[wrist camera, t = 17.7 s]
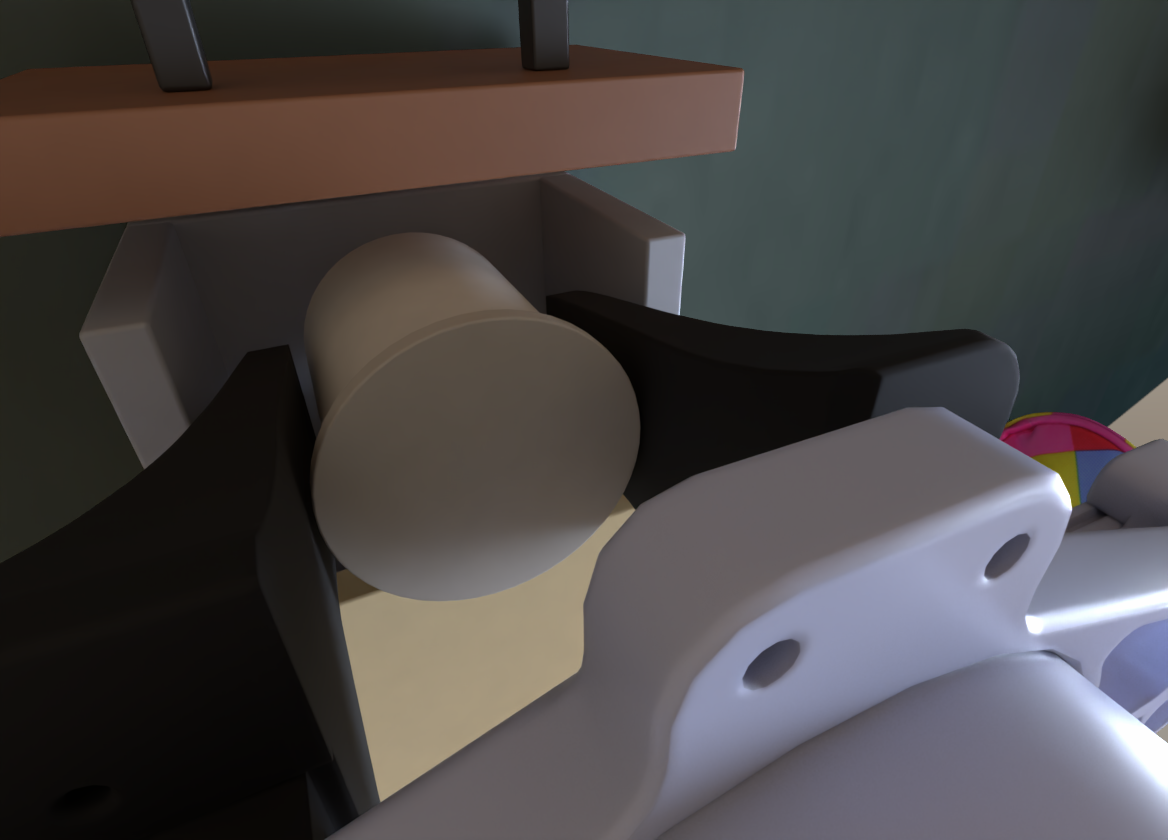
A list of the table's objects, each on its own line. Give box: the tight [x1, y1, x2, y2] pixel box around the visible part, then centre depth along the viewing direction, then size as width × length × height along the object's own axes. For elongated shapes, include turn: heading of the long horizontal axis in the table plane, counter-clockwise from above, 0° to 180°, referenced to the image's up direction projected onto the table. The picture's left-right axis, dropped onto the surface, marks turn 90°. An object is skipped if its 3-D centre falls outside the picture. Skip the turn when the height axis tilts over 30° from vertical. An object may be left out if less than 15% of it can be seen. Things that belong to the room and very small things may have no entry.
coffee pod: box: [304, 232, 641, 601], centre depth 11 cm, size 5×5×5 cm
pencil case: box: [999, 412, 1136, 508], centre depth 36 cm, size 22×9×9 cm, turn 41°
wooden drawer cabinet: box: [336, 494, 635, 802], centre depth 18 cm, size 14×12×8 cm
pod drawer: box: [0, 0, 744, 572], centre depth 13 cm, size 17×10×6 cm, turn 179°
